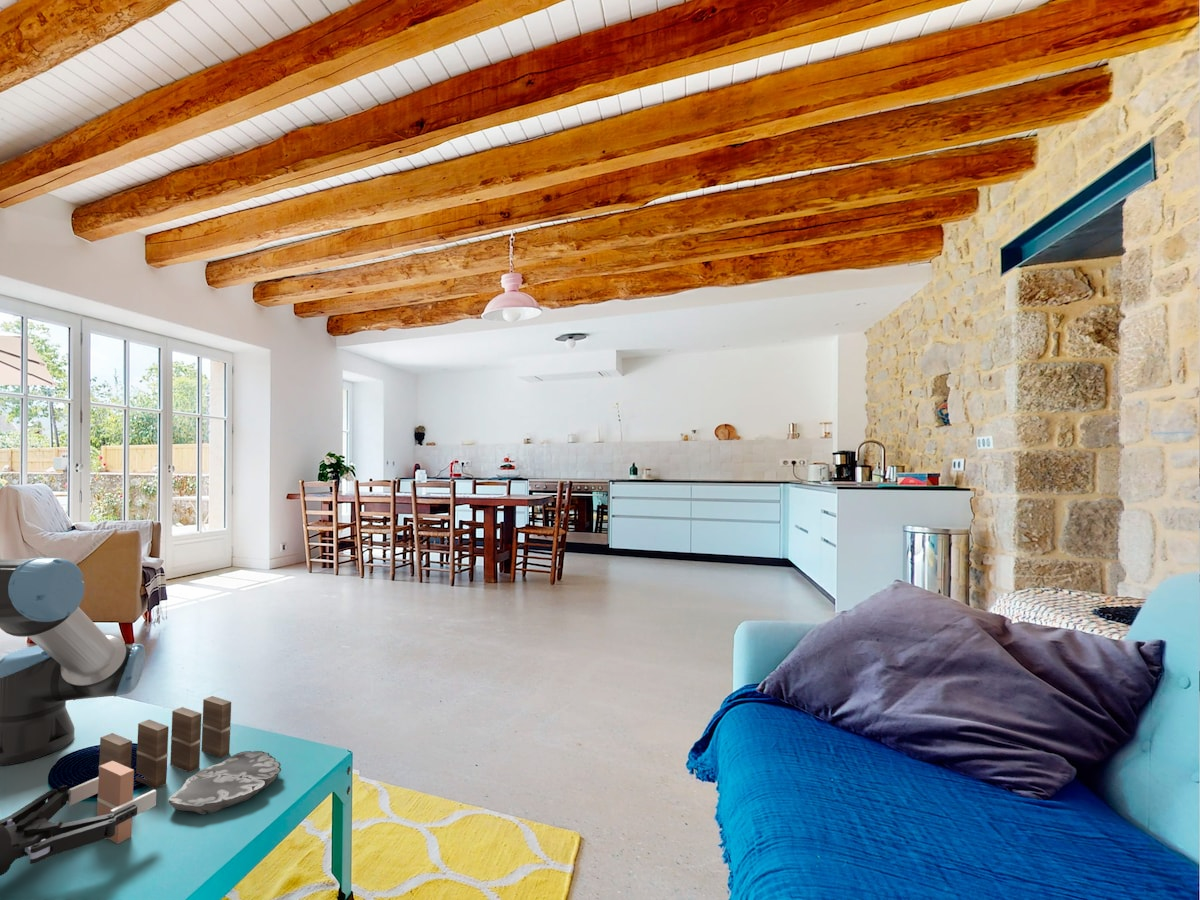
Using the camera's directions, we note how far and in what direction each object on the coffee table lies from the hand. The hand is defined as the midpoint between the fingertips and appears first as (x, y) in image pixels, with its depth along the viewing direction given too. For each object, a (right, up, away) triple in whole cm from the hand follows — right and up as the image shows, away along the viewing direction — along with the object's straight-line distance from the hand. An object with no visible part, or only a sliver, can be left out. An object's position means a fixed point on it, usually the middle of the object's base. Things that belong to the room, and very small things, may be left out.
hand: (133, 787), depth 101 cm
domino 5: (-3, -7, +25) cm, 26 cm away
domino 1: (-10, -7, +7) cm, 14 cm away
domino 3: (-8, -7, +13) cm, 17 cm away
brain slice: (+11, -8, +11) cm, 18 cm away
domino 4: (-5, -7, +19) cm, 21 cm away
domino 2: (-1, -7, -3) cm, 7 cm away
